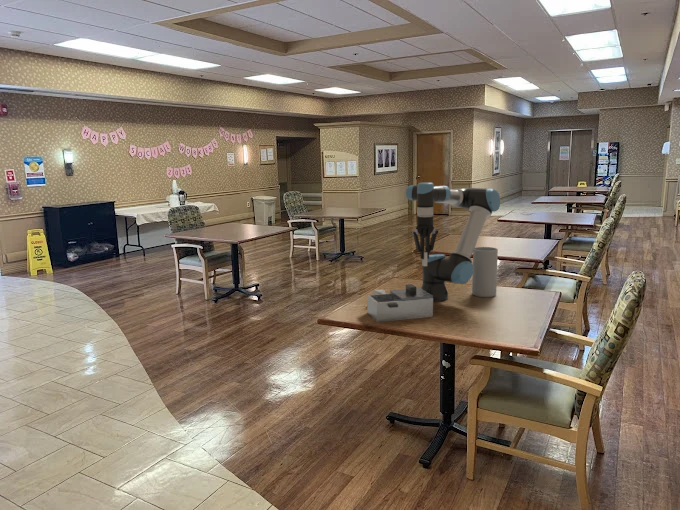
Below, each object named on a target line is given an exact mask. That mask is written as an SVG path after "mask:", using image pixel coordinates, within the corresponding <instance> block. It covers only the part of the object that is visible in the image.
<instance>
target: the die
mask: <svg viewBox="0 0 680 510" xmlns="http://www.w3.org/2000/svg"><path fill="white" fill-rule="evenodd" d="M386 293H387V292H386V291H385V289H373V291H372V293H371V295H375V294H386Z"/></svg>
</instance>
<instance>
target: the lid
mask: <svg viewBox="0 0 680 510" xmlns="http://www.w3.org/2000/svg"><path fill="white" fill-rule="evenodd" d="M389 293H392V294H393V295H394V296H396V297H397V298H398V299H400V300H401V301H403V300H414V299H424V298H433V295H431V294H429V293H428V292H426V291H424V290H423V289H421V287H417V286H416V285H414V284H412V283H411V284H409V283H408V284H405V288H401V289H400V288H399V289H391V290H389Z"/></svg>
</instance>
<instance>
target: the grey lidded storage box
mask: <svg viewBox="0 0 680 510" xmlns="http://www.w3.org/2000/svg"><path fill="white" fill-rule="evenodd" d="M366 301H367V303H366V307H367V309H366V310H367V314H368V315H369V317H371V319H373V320H374V321H375V322H376V323H384V322H385V323H386V322H395V321H403V320H404V321H405V320H414V319H423V318H424V319H425V318H432V317H434V301H433V298H424V299H414V300H403V301H401V300H400V299H398V298H397V297H396V296H394V295H393V294H392V293H390V292H389V293H387V292H386V294H375V295H372V294H367V296H366Z"/></svg>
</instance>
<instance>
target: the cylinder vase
mask: <svg viewBox="0 0 680 510" xmlns="http://www.w3.org/2000/svg"><path fill="white" fill-rule="evenodd" d="M498 249H499V248H496V247H493V246H492V247H490V246H478V247H476V246H475V248H474V250H473V253H472V265H473V274H472V281H471V285H472V287H471V294H472V295H473V296H475V297H480V298H493V297H495V296H496V295H497V284H498V281H497V280H498Z"/></svg>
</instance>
